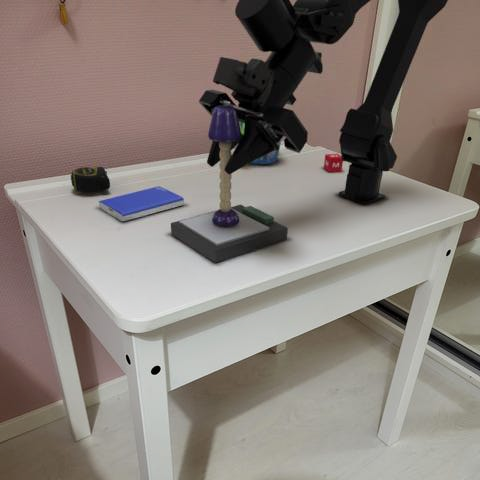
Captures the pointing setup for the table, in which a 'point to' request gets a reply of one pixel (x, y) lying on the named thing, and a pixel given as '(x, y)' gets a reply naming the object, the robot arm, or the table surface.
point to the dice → (333, 163)
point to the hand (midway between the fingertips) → (217, 168)
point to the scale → (229, 233)
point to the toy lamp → (225, 159)
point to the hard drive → (141, 203)
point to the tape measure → (90, 179)
